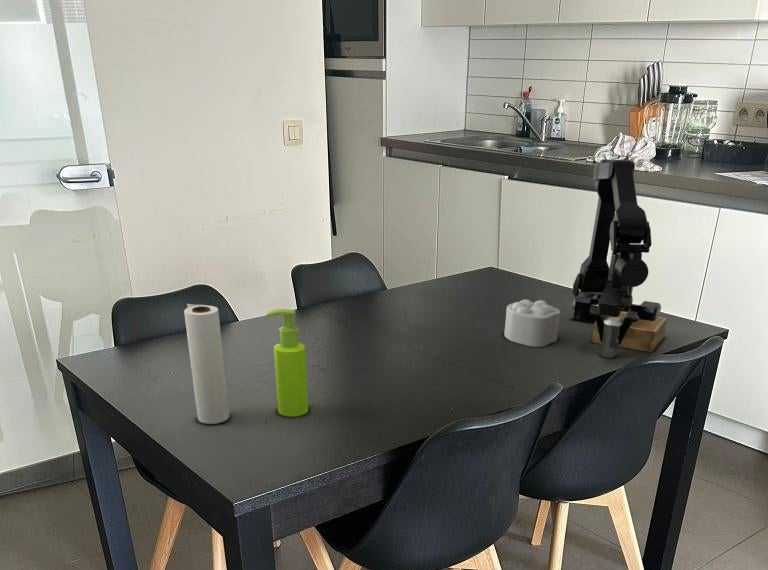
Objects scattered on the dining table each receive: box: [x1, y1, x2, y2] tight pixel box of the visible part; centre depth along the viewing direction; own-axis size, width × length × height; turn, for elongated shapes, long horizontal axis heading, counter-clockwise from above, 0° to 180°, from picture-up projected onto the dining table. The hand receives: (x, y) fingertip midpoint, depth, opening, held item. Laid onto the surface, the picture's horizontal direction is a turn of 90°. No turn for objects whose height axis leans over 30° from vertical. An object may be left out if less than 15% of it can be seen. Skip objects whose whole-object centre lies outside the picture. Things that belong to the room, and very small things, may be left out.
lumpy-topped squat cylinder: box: [503, 299, 561, 348], centre depth 190 cm, size 10×13×9 cm
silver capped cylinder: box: [600, 317, 623, 359], centre depth 179 cm, size 4×5×10 cm
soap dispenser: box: [265, 308, 309, 418], centre depth 147 cm, size 6×7×20 cm
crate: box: [591, 311, 668, 353], centre depth 190 cm, size 15×13×5 cm
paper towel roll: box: [183, 303, 230, 425], centre depth 144 cm, size 7×6×21 cm
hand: (610, 342), depth 180 cm, fingers closed on silver capped cylinder, 4 cm apart
